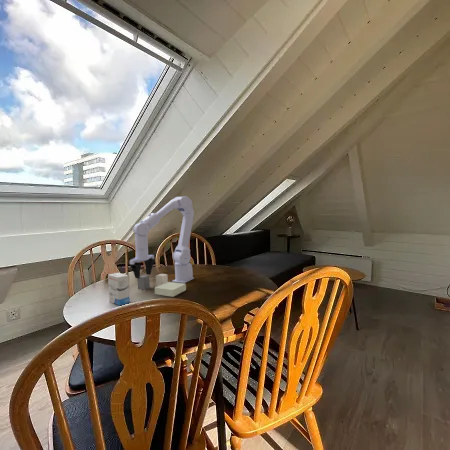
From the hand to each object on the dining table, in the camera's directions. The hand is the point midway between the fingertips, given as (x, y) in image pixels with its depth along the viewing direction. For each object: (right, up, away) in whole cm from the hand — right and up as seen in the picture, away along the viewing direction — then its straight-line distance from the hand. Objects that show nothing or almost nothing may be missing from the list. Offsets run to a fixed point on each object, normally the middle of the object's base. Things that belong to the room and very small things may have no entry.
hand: (143, 276), depth 137 cm
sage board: (+15, -6, -7) cm, 17 cm away
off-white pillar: (+9, -6, +2) cm, 11 cm away
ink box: (-5, -8, -18) cm, 20 cm away
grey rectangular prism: (0, -6, 0) cm, 6 cm away
